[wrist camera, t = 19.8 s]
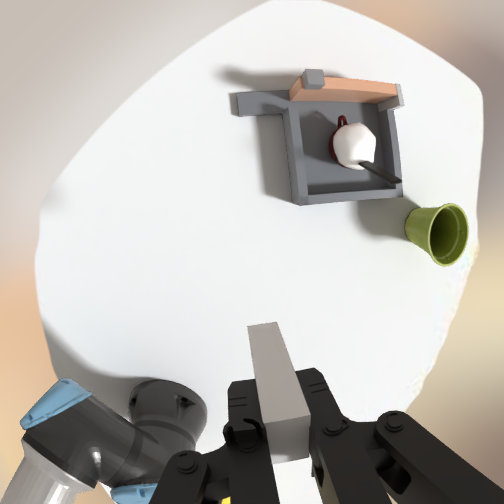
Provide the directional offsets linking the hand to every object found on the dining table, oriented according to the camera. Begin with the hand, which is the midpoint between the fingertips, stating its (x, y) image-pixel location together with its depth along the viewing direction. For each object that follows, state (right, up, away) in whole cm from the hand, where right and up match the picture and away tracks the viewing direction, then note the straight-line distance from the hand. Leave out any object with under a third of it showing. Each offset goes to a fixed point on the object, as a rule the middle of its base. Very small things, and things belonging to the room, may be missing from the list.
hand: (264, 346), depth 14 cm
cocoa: (+12, +19, +23) cm, 32 cm away
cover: (+11, +27, +20) cm, 36 cm away
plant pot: (+27, +9, +28) cm, 40 cm away
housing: (+9, +20, +23) cm, 32 cm away
